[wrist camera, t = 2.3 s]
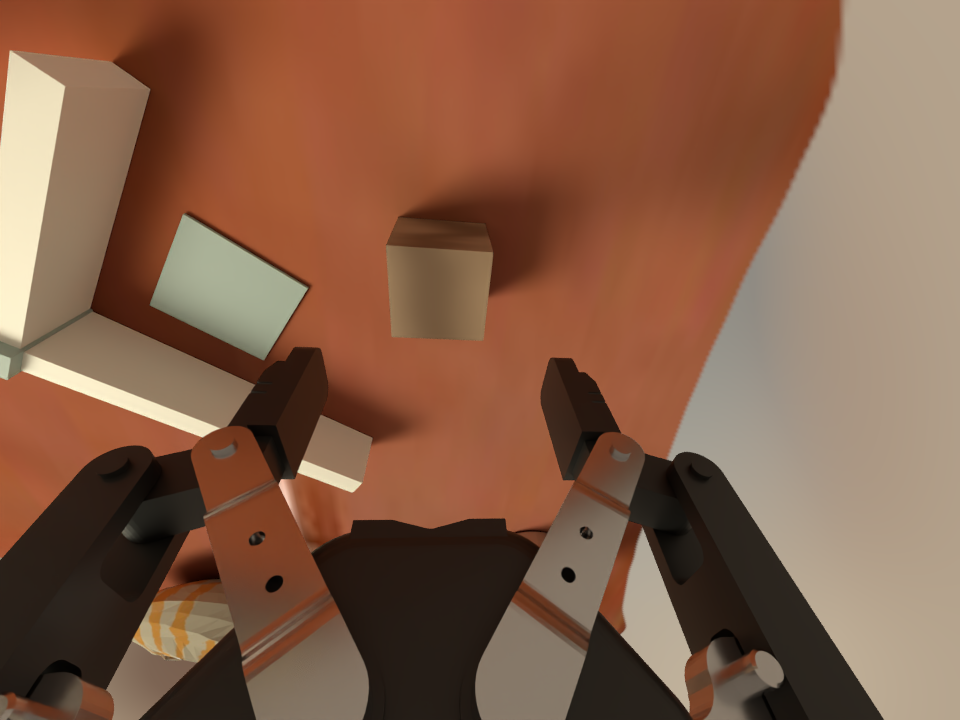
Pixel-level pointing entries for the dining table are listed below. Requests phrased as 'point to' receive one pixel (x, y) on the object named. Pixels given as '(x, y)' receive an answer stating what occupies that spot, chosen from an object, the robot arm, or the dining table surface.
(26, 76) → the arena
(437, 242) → the block
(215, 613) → the nautilus
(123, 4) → the dining table surface
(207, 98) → the dining table surface
